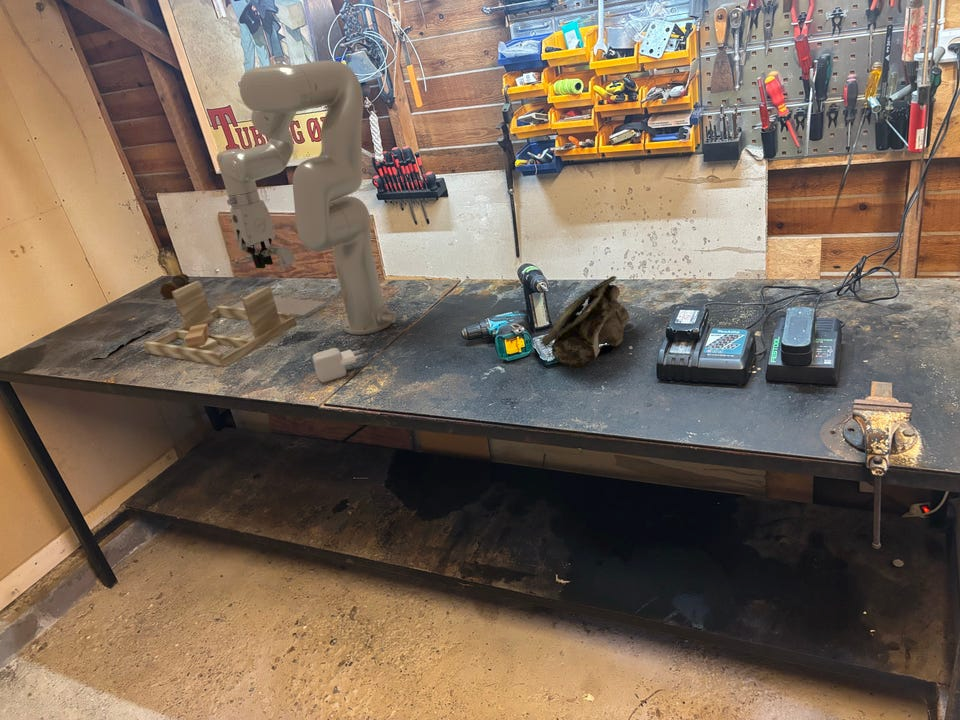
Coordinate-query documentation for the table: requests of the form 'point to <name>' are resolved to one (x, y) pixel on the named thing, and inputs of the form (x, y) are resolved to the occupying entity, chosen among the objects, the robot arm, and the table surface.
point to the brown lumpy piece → (173, 285)
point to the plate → (293, 306)
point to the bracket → (281, 251)
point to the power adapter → (334, 363)
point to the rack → (197, 312)
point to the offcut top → (197, 335)
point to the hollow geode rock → (588, 326)
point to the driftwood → (119, 343)
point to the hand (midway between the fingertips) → (264, 265)
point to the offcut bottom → (208, 345)
